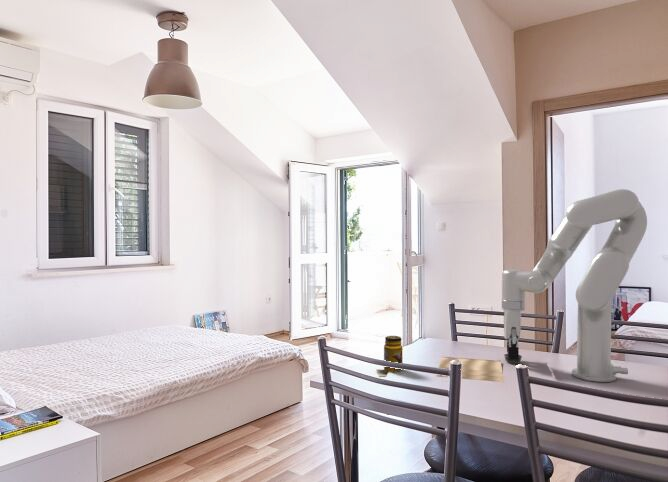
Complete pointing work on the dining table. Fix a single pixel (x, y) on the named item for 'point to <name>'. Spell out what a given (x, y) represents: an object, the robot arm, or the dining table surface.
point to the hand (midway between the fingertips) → (512, 355)
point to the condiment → (391, 354)
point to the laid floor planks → (480, 375)
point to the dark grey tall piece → (512, 361)
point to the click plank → (473, 364)
